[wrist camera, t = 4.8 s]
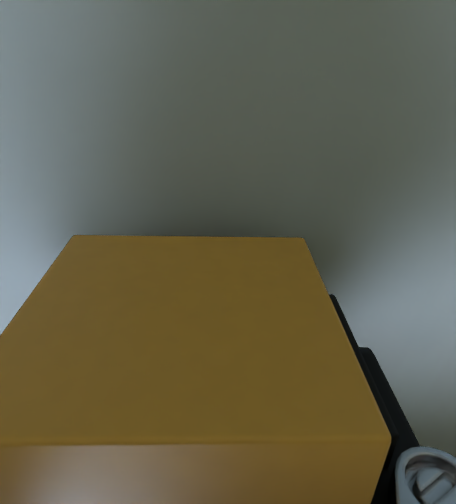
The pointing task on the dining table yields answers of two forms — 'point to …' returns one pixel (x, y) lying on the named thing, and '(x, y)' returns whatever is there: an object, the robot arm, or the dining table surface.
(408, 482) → the robot arm
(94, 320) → the block
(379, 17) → the dining table surface
